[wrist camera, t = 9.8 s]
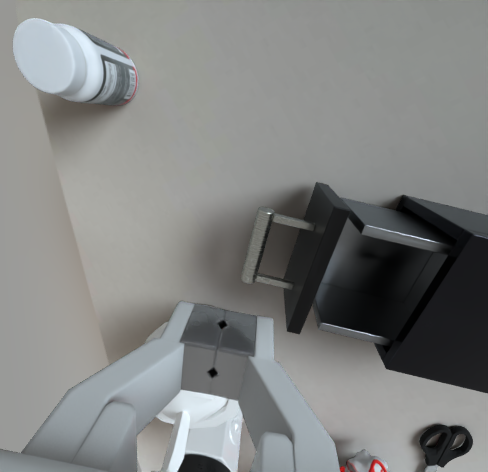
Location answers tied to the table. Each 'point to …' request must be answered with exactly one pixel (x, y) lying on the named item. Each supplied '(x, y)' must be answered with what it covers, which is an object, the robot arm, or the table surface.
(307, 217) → the drawer
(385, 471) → the molecular structure model
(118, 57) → the pill bottle
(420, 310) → the black drawer cabinet
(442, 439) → the scissors
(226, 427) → the jar
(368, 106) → the table surface
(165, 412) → the potted plant
